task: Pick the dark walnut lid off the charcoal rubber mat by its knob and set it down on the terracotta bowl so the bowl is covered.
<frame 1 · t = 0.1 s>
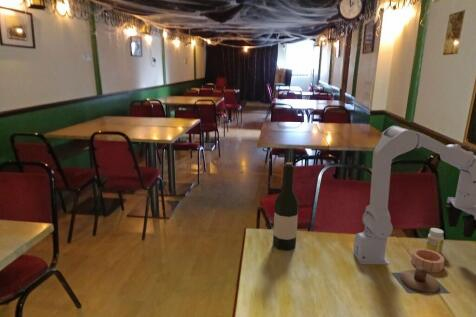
hand: (459, 231, 112), 10 cm above the table, fingers open, 7 cm apart
lid: (419, 282, 100), resting on mat
bowl: (426, 265, 110), on the table
supplement bottle: (433, 253, 118), on the table
mat: (419, 283, 100), on the table
wine bottle: (284, 245, 121), on the table
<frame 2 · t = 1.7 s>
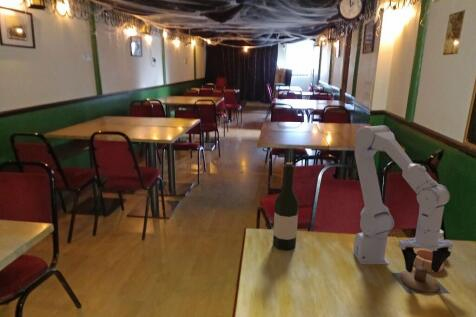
hand: (421, 270, 99), 4 cm above the table, fingers open, 7 cm apart
nothing on the table moved.
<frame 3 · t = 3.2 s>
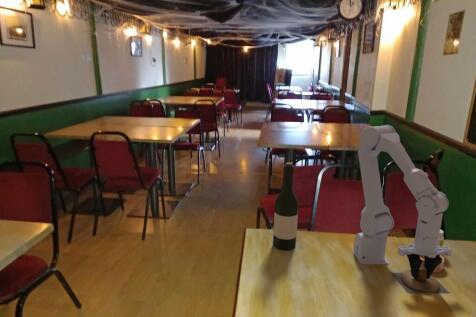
hand: (420, 276, 100), 2 cm above the table, fingers closed on lid, 3 cm apart
lid: (419, 282, 100), resting on mat, touching gripper
everything else where it was.
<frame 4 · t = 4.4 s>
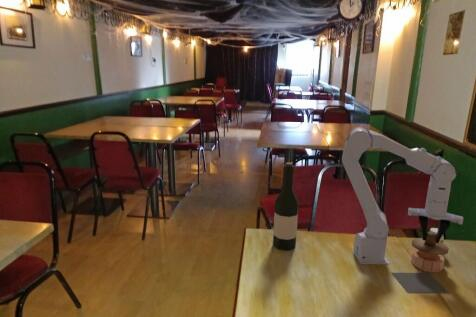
hand: (430, 240, 107), 9 cm above the table, fingers closed on lid, 3 cm apart
lid: (429, 247, 107), point 7 cm above the table, touching gripper
everything else where it was.
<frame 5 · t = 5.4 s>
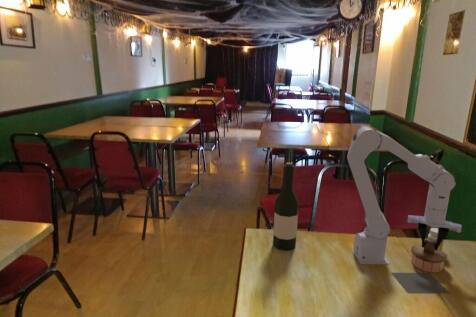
hand: (429, 247, 109), 6 cm above the table, fingers closed on lid, 3 cm apart
lid: (428, 254, 109), point 4 cm above the table, tilted 5°, touching gripper
everything else where it was.
when the fingers open (6 cm above the table, at t = 5.8 s): lid stays where it is, resting on bowl.
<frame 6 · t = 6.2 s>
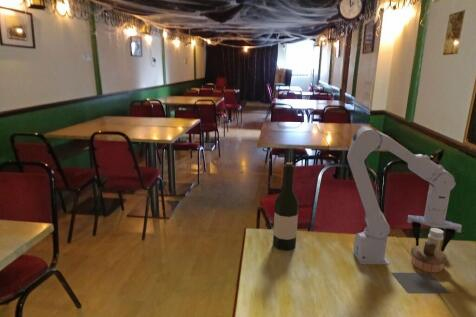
hand: (429, 247, 109), 6 cm above the table, fingers open, 6 cm apart
lid: (428, 256, 109), point 3 cm above the table, touching bowl
everything else where it was.
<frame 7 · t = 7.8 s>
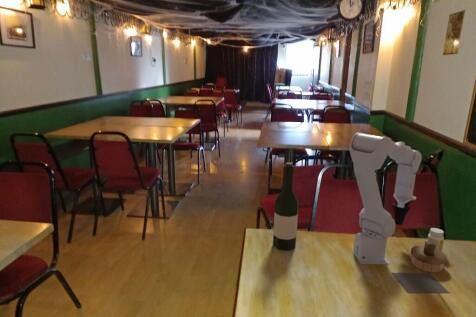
hand: (399, 220, 120), 10 cm above the table, fingers open, 7 cm apart
nothing on the table moved.
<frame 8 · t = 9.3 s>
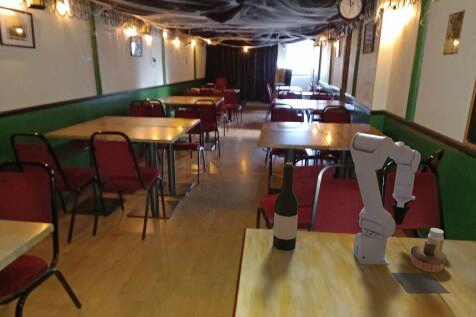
hand: (398, 219, 120), 10 cm above the table, fingers open, 7 cm apart
nothing on the table moved.
at the end: lid 0.6 cm off-centre on the bowl, point 3.5 cm above the bowl's base; lid tilted 0°; the gripper is holding nothing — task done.
